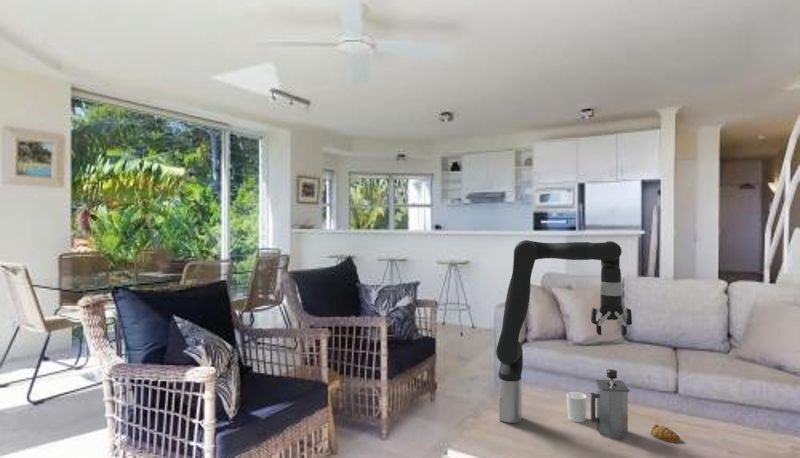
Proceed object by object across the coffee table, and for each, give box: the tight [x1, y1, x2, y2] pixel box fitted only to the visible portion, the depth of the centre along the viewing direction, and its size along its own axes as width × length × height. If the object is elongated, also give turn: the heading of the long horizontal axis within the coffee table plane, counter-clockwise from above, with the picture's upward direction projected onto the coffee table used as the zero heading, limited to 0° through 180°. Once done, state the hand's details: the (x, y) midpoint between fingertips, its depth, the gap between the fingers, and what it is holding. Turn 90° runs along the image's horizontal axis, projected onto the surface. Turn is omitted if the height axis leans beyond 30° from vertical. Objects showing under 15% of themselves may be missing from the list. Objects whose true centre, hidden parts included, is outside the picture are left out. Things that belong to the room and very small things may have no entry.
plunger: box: [606, 368, 618, 386], centre depth 181 cm, size 8×8×15 cm
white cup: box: [565, 391, 588, 423], centre depth 194 cm, size 8×8×10 cm
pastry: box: [650, 424, 681, 444], centre depth 177 cm, size 9×7×4 cm
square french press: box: [590, 379, 630, 440], centre depth 182 cm, size 13×10×19 cm
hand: (611, 335), depth 181 cm, fingers open, 8 cm apart
